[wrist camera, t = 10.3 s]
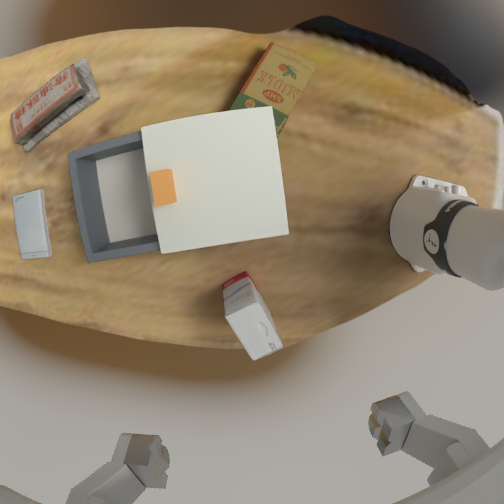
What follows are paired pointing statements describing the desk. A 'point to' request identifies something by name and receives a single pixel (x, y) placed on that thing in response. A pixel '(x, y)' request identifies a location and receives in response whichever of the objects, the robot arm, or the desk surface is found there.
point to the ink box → (250, 317)
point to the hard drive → (31, 225)
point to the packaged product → (54, 104)
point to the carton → (276, 83)
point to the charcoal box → (113, 199)
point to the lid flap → (215, 179)
